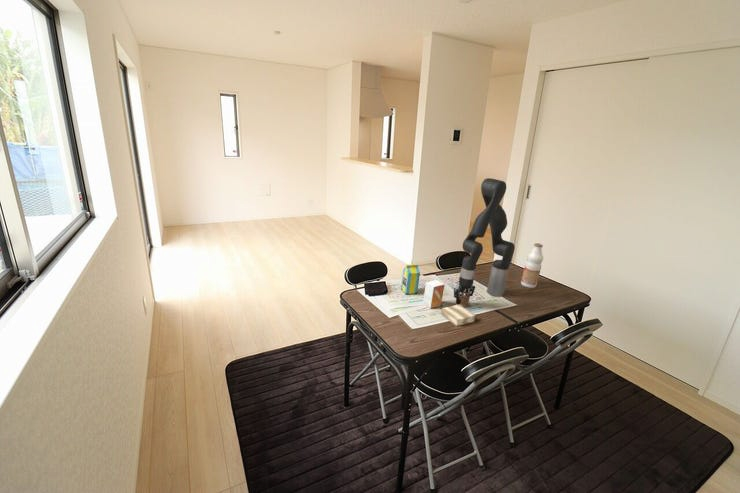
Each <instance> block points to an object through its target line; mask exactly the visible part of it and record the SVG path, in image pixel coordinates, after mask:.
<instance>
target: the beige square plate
mask: <svg viewBox="0 0 740 493" xmlns="http://www.w3.org/2000/svg"><path fill="white" fill-rule="evenodd" d="M440 315H441V316H442V317H444V318H445V319H446V320H448V321H449V322H450V323H451V324H453V325H454V326H456V327H458V326H462V325H467V324H470V323H474V322H475V320H476V314H475V313H473V312H471V311H470V310H469V309H468V308H467V307H463V306H461V305H460V304H458V305H456V304H454V305H450V306H447V307H442V308H441V312H440Z"/></svg>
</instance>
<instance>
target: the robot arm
mask: <svg viewBox="0 0 740 493" xmlns="http://www.w3.org/2000/svg"><path fill="white" fill-rule="evenodd" d="M480 191H481V195H482V199H483V202H484V205H485V209H484V210H482V211H481V212H480V213H479V214H478V215H477V216H476V218H475V219H474V222H473V225H472V228H471V230H470V232H469V233H468V235H467V236H466V237H465V239H464V241H463V243H462V250H463V251H464V252H466V253H468V254H470V256H467V255H466V256H464V257H463V259H462V265H461V269H460V273H459V278H458V284H459V285H458V287H457V288H456V287H454V288H453V298H455V302H456V304H457V305H458V304H460V302H461V298H462V296H463V295H465V296H467V297H468V298H470V297H473V295H474V292H475V290H476V286H475V285H474V280H475V274H476V268H477V262H478V261H479V259H480V256H482V253H483V252H484V248H483V247H484V246H483V245H482V243H480V242H479V241H476V240H477V239H478V238H484V237H485V235H486V232H487V230H488V227H489V229H490V233H491V242H492V243H491V245H492V246H491V247H492V251H493V253H494V254H495V255H498V256H499V257H501V259H495V260H492V265H491V270H490V274H489V277H488V278H489V279H488V284H487V288H486V294H488V295H490V296H493V297H499V298H501V297H503V296H504V294H505V289H506V286H507V281H508V280H507V278H508V274H509V268H510V265H511V263H512V260H513V256H514V253H515V249H516V248H515V244H514V243H513V242H512V241H507V240H505V239H503V237H502V234H503V232H504V231H505V230H506V228H507V226H508V218H507V213H506V211H505V209H504V208H503V207H502V205H501V204H500V203H501V202H502V199H504V198H503V197H504V196H505V195H506V191H507V183H506V182H505V181H504V180H500V179H496V178H491V177H488V178H484V179H483V181H482V183H481V185H480ZM459 295H460V297H459ZM456 299H457V300H456ZM456 304H455V305H456Z"/></svg>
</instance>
